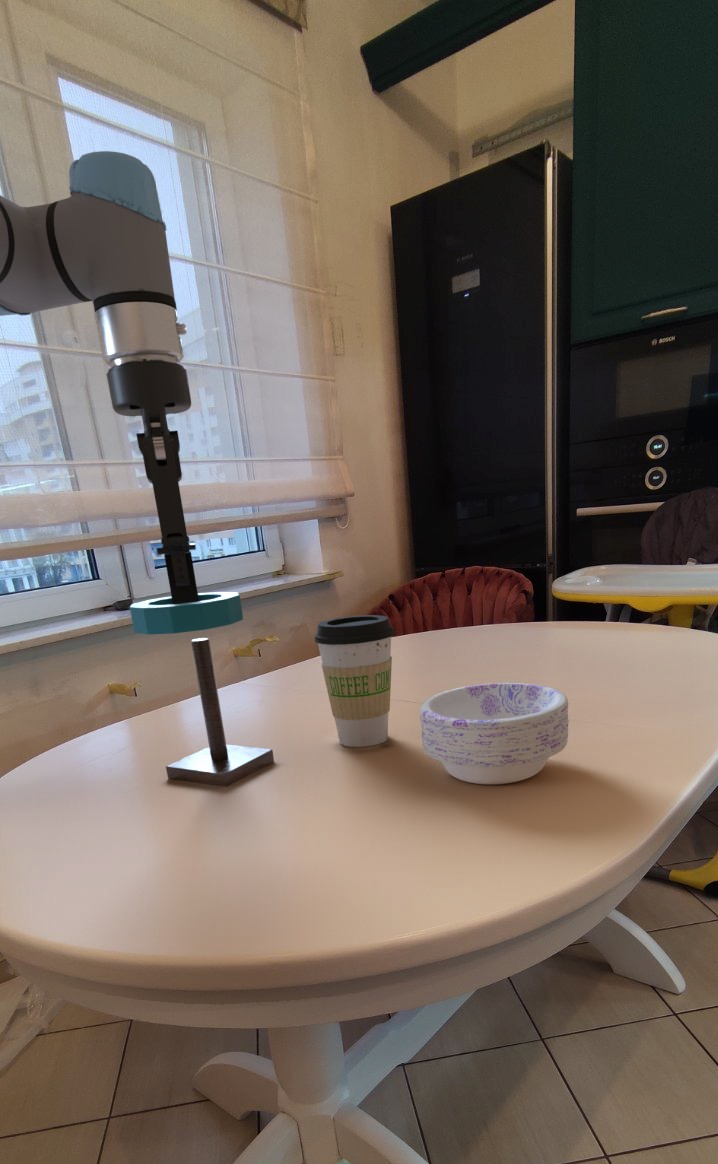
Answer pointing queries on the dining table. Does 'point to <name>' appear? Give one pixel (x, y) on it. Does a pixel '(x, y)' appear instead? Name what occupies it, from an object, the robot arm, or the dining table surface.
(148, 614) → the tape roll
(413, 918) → the dining table surface
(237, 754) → the peg stand
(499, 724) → the paper bowls
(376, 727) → the coffee cup
